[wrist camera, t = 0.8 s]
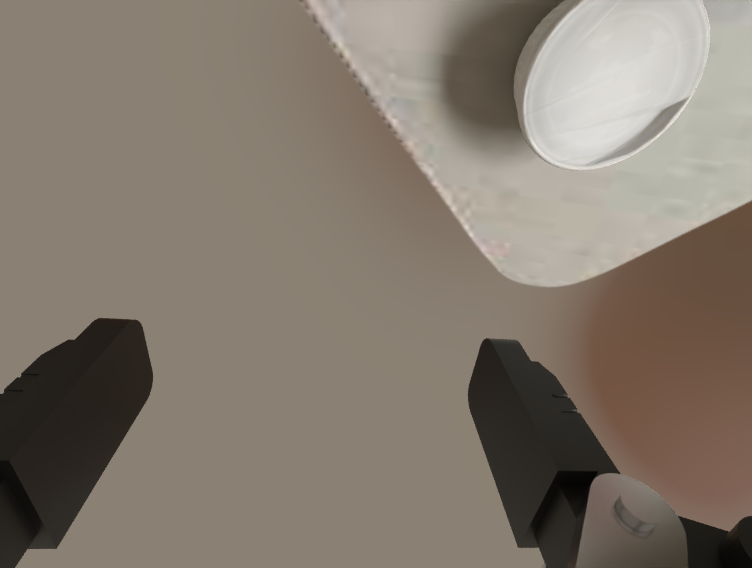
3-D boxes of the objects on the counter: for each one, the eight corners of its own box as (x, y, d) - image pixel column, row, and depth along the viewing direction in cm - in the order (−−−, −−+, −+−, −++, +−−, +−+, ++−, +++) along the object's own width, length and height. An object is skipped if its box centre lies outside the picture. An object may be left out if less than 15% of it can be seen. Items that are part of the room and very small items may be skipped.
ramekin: (553, 172, 33) (578, 200, 29) (468, 77, 29) (484, 97, 25) (688, 60, 28) (742, 76, 24) (612, -78, 23) (662, -86, 19)
